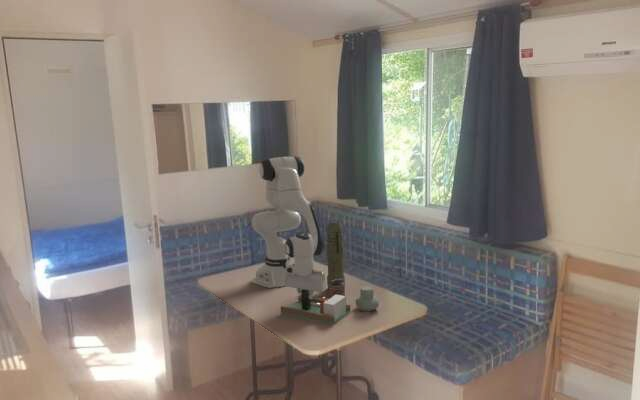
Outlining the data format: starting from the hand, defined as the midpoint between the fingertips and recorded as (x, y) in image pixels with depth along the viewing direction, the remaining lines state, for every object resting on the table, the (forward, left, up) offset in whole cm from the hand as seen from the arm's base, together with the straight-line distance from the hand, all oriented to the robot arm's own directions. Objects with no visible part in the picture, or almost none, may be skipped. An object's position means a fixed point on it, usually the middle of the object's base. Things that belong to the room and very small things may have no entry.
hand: (305, 298), depth 232 cm
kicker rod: (+4, 0, -5) cm, 7 cm away
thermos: (-1, +31, -6) cm, 32 cm away
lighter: (+6, +19, -7) cm, 21 cm away
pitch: (+5, 0, -6) cm, 8 cm away
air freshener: (+24, +14, -7) cm, 29 cm away
